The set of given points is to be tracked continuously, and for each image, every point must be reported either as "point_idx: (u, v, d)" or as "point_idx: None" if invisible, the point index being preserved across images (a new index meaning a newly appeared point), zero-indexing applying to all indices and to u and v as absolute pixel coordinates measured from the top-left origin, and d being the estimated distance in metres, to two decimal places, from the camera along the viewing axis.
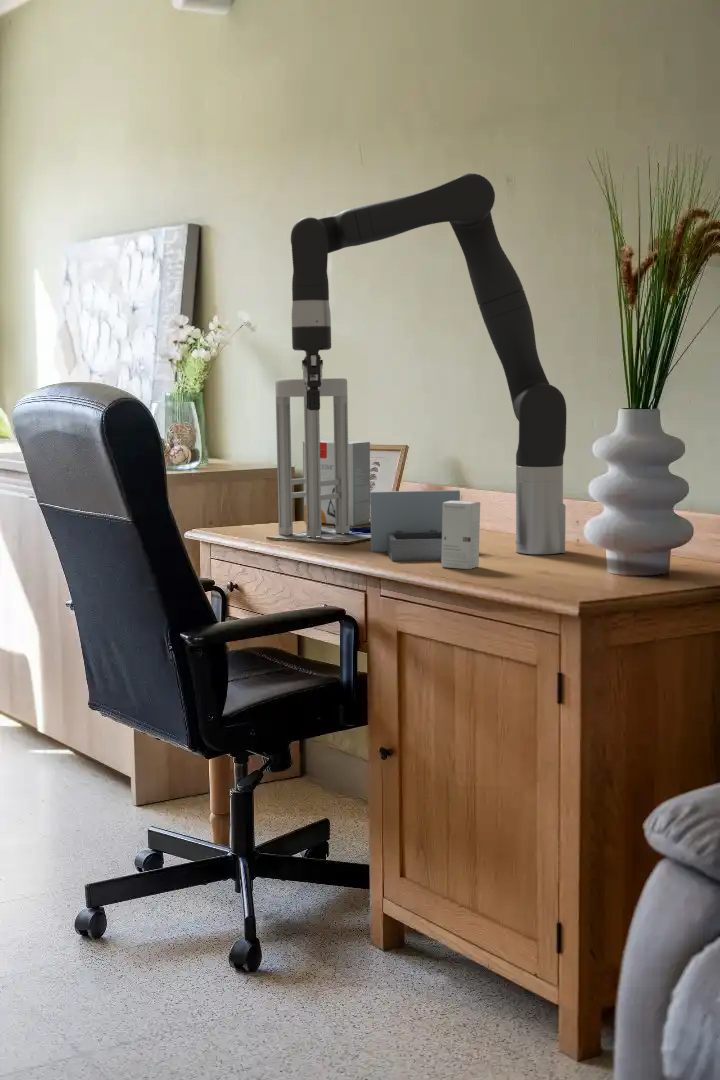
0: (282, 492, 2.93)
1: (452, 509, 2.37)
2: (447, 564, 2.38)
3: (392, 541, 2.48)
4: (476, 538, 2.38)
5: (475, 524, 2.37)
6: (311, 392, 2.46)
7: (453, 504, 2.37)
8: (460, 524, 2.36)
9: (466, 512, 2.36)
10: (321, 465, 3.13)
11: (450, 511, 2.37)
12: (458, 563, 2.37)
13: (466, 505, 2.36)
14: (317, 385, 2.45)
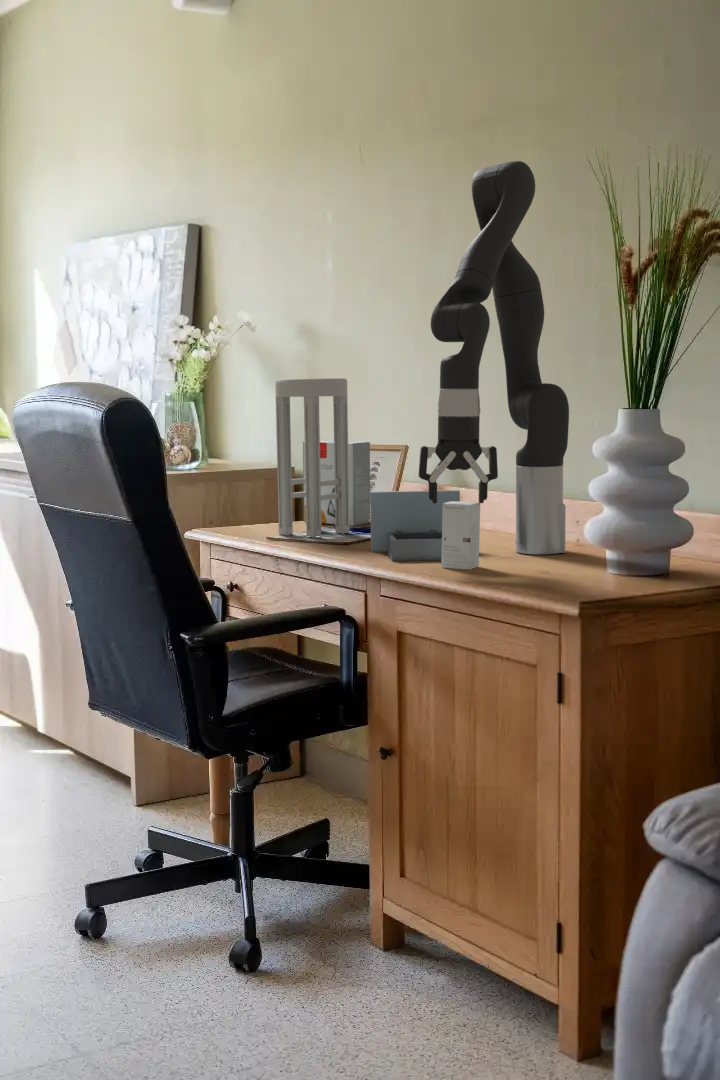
0: (282, 492, 2.93)
1: (452, 510, 2.37)
2: (447, 565, 2.38)
3: (392, 541, 2.48)
4: (476, 539, 2.38)
5: (475, 525, 2.37)
6: None
7: (453, 505, 2.37)
8: (460, 525, 2.36)
9: (466, 512, 2.36)
10: (321, 465, 3.13)
11: (450, 512, 2.37)
12: (458, 564, 2.37)
13: (466, 506, 2.36)
14: None
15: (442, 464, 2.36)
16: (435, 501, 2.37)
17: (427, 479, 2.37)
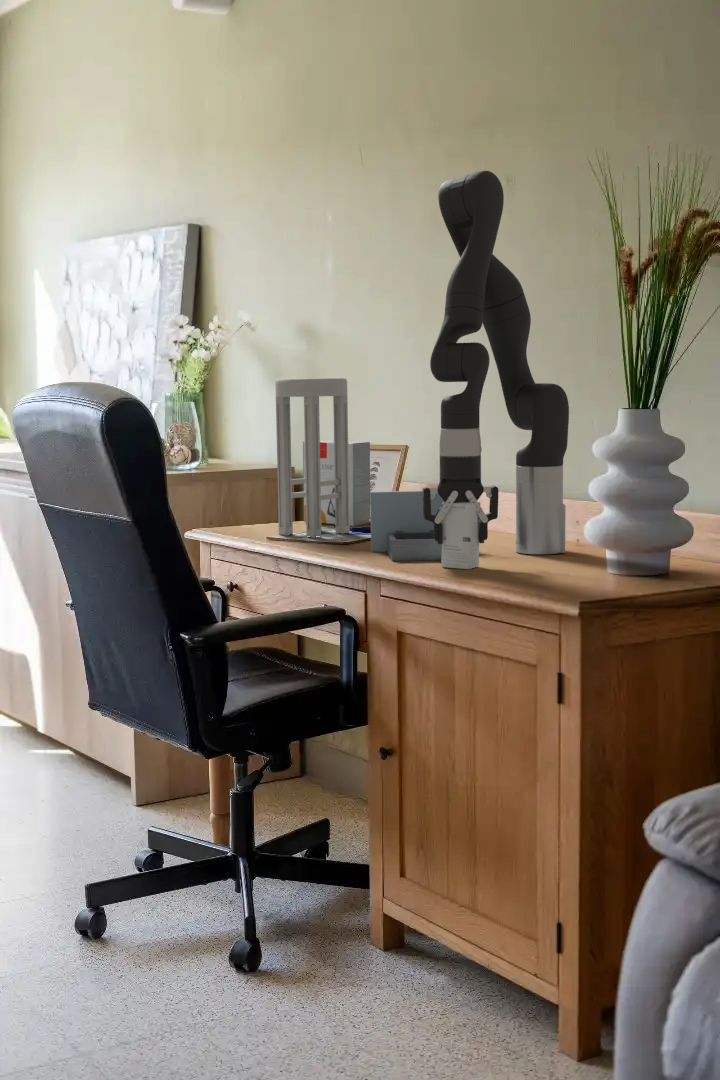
0: (282, 492, 2.93)
1: (452, 509, 2.37)
2: (447, 564, 2.38)
3: (392, 541, 2.48)
4: (476, 538, 2.38)
5: (475, 524, 2.37)
6: (487, 524, 2.38)
7: (453, 504, 2.37)
8: (460, 524, 2.36)
9: (466, 512, 2.36)
10: (321, 465, 3.13)
11: (450, 511, 2.37)
12: (458, 563, 2.37)
13: (466, 505, 2.36)
14: None
15: (445, 504, 2.36)
16: (440, 542, 2.38)
17: (432, 520, 2.38)
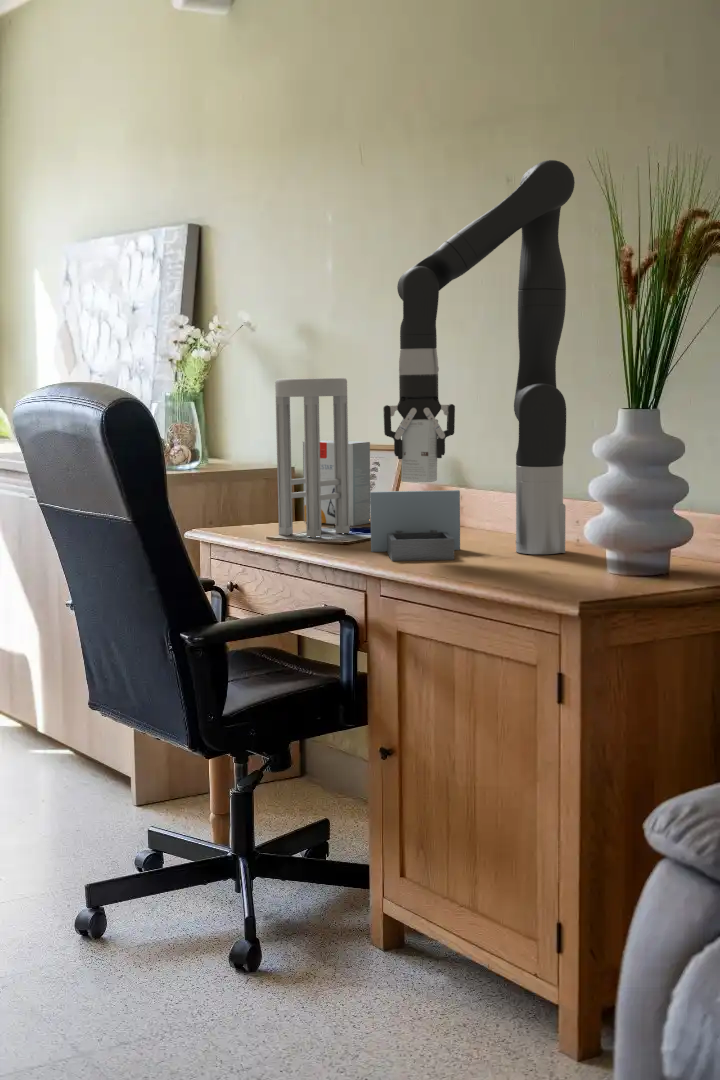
0: (282, 492, 2.93)
1: (411, 426, 2.51)
2: (407, 478, 2.52)
3: (392, 541, 2.48)
4: (434, 453, 2.52)
5: (433, 440, 2.51)
6: (444, 440, 2.52)
7: (412, 421, 2.50)
8: (419, 440, 2.50)
9: (424, 427, 2.49)
10: (321, 465, 3.13)
11: (409, 428, 2.51)
12: (417, 477, 2.51)
13: (424, 421, 2.49)
14: None
15: (405, 421, 2.50)
16: (400, 457, 2.52)
17: (392, 436, 2.51)
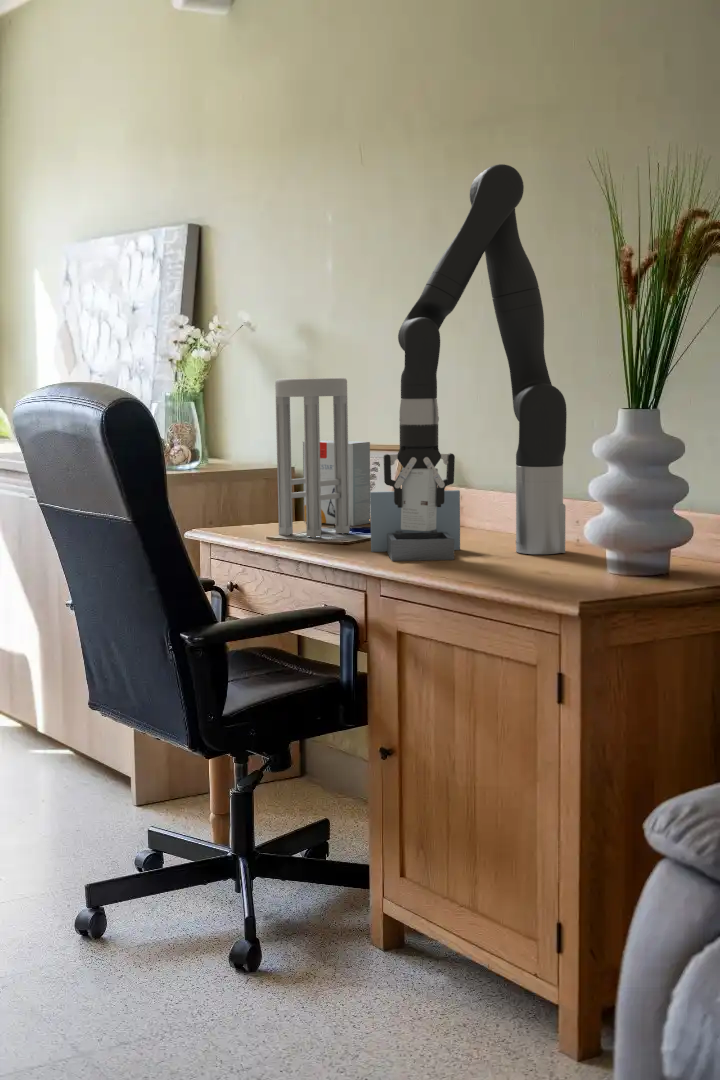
0: (282, 492, 2.93)
1: (411, 475, 2.52)
2: (406, 526, 2.53)
3: (392, 541, 2.48)
4: (433, 502, 2.53)
5: (432, 489, 2.52)
6: None
7: (412, 470, 2.52)
8: (418, 489, 2.51)
9: (424, 477, 2.51)
10: (321, 465, 3.13)
11: (409, 477, 2.52)
12: (416, 525, 2.52)
13: (424, 471, 2.50)
14: None
15: (405, 470, 2.51)
16: (400, 506, 2.53)
17: (392, 485, 2.52)
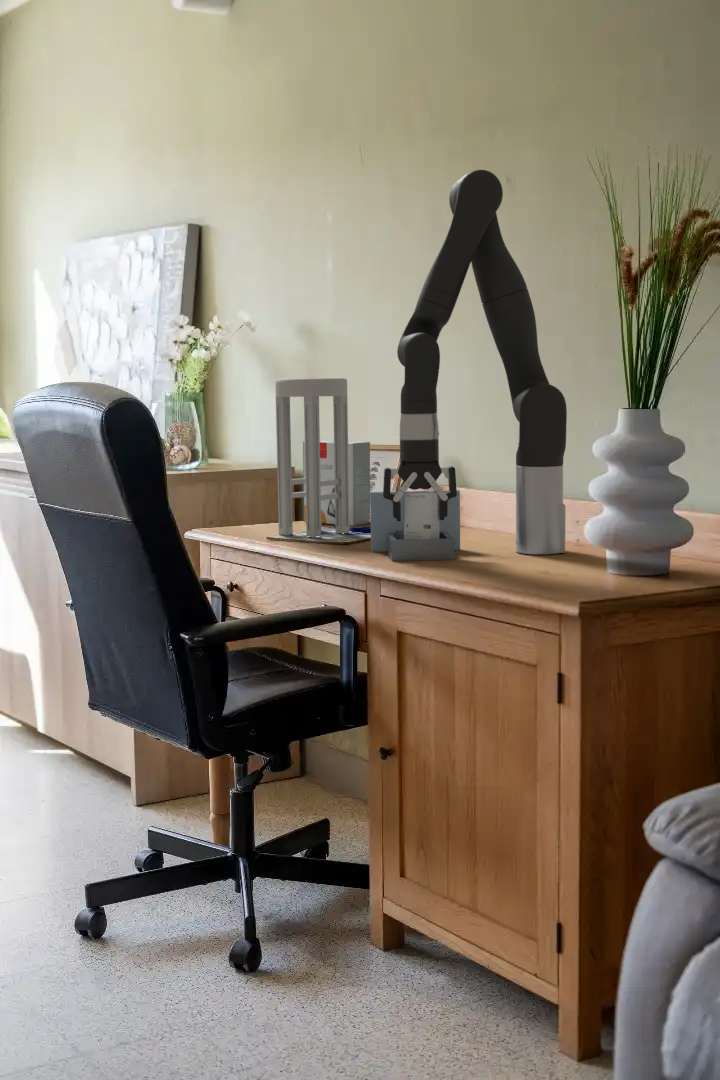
0: (282, 492, 2.93)
1: (413, 498, 2.52)
2: None
3: (392, 541, 2.48)
4: (436, 525, 2.53)
5: (435, 512, 2.53)
6: None
7: (414, 493, 2.52)
8: (421, 512, 2.52)
9: (426, 500, 2.51)
10: (321, 465, 3.13)
11: (411, 500, 2.53)
12: None
13: (426, 494, 2.51)
14: None
15: (404, 484, 2.52)
16: (399, 519, 2.53)
17: (391, 499, 2.53)
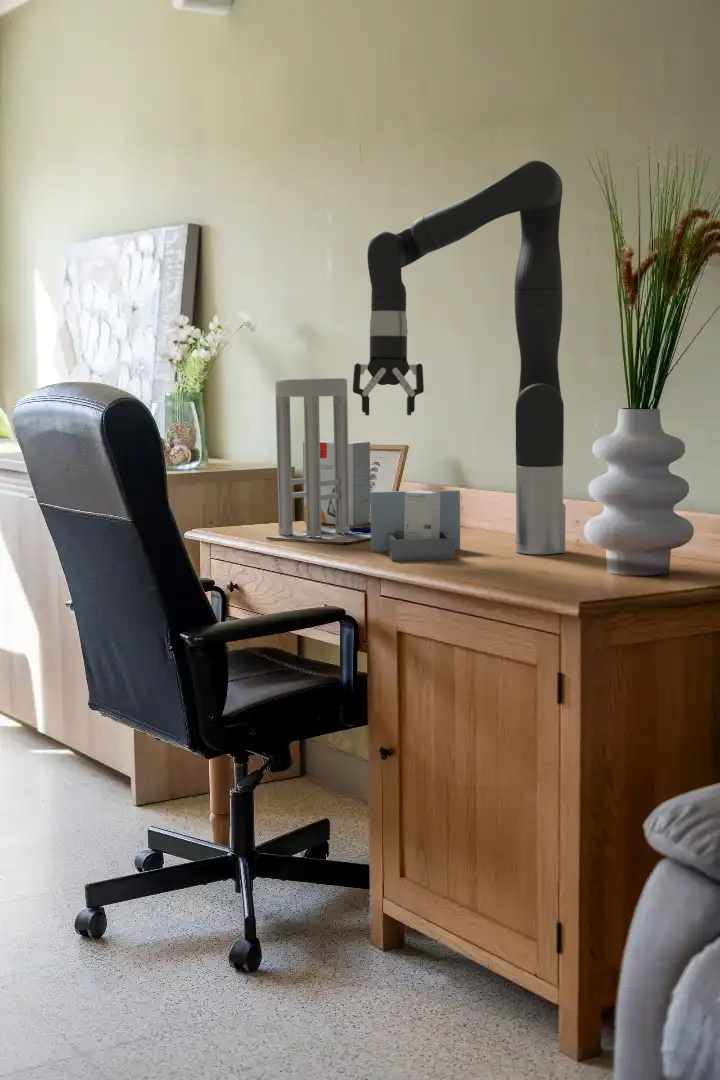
0: (282, 492, 2.93)
1: (414, 498, 2.52)
2: None
3: (392, 541, 2.48)
4: (436, 526, 2.53)
5: (435, 512, 2.53)
6: (414, 398, 2.63)
7: (415, 494, 2.52)
8: (421, 513, 2.52)
9: (427, 501, 2.51)
10: (321, 465, 3.13)
11: (412, 500, 2.53)
12: None
13: (427, 494, 2.51)
14: None
15: (373, 379, 2.61)
16: (367, 413, 2.63)
17: (360, 393, 2.62)
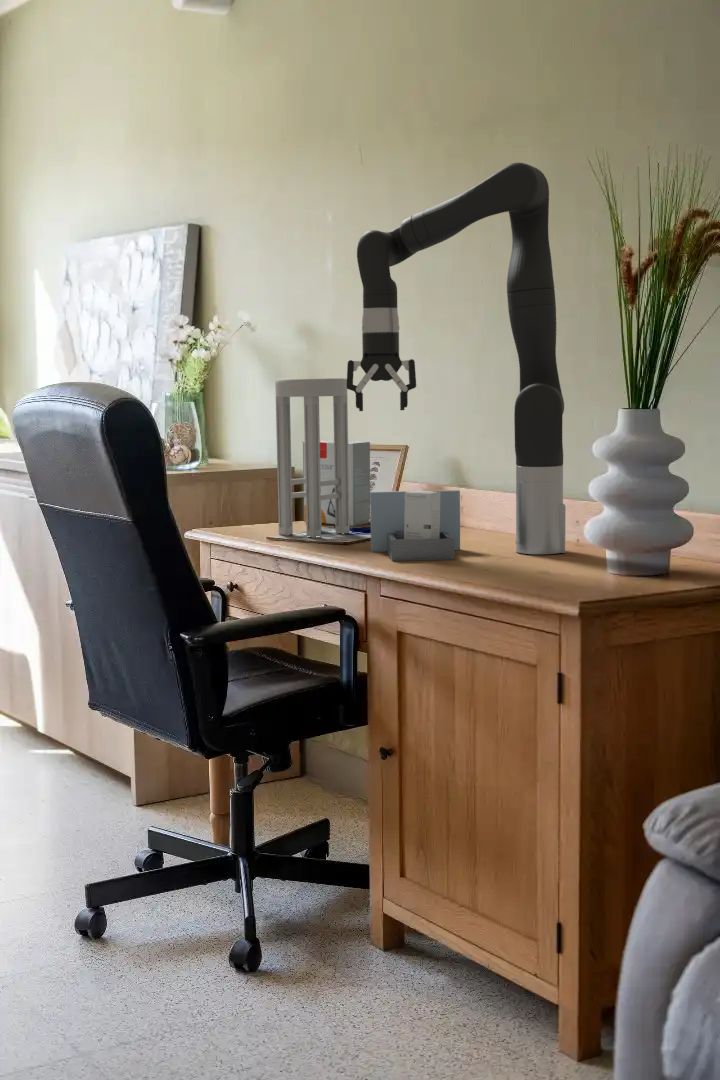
0: (282, 492, 2.93)
1: (414, 498, 2.52)
2: None
3: (392, 541, 2.48)
4: (436, 526, 2.53)
5: (435, 512, 2.53)
6: None
7: (415, 494, 2.52)
8: (421, 513, 2.52)
9: (427, 501, 2.51)
10: (321, 465, 3.13)
11: (412, 500, 2.53)
12: None
13: (427, 494, 2.51)
14: None
15: (366, 375, 2.66)
16: (361, 409, 2.67)
17: (354, 389, 2.67)
